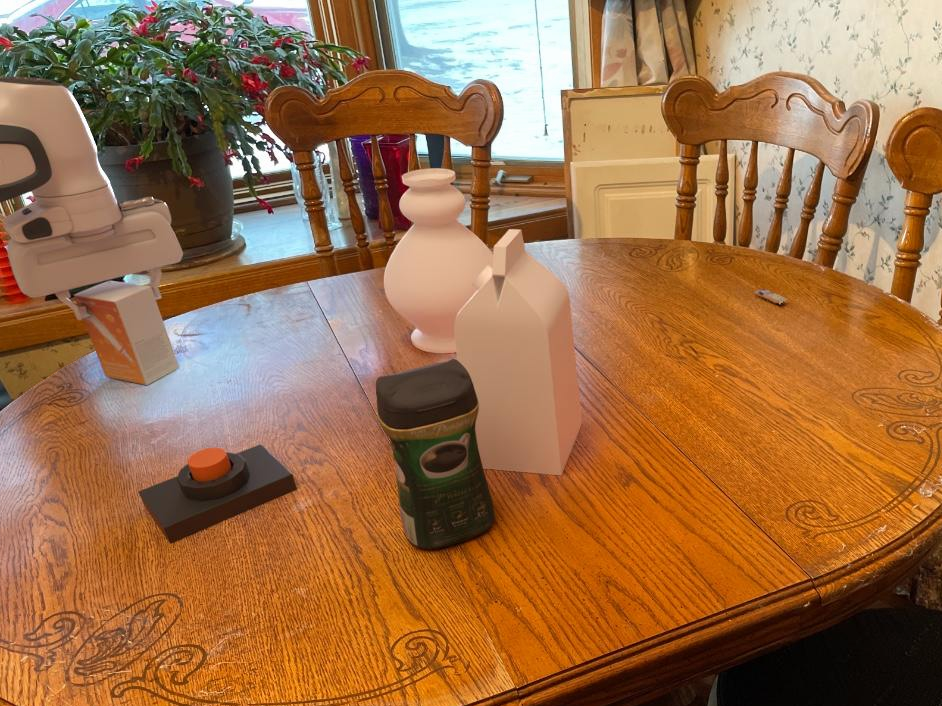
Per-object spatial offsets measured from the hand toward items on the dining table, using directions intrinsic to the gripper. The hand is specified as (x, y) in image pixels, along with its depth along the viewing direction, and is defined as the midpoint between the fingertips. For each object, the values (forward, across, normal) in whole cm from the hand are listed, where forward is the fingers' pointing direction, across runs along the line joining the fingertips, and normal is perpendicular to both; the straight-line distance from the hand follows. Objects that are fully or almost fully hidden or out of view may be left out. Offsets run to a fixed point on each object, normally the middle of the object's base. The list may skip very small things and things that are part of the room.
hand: (120, 308), depth 110 cm
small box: (+10, 0, 0) cm, 11 cm away
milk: (+11, -29, +56) cm, 64 cm away
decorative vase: (+11, -40, +22) cm, 47 cm away
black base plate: (+10, +3, +40) cm, 42 cm away
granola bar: (+11, -87, +49) cm, 100 cm away
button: (+7, +3, +40) cm, 41 cm away
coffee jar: (+11, -13, +63) cm, 65 cm away
